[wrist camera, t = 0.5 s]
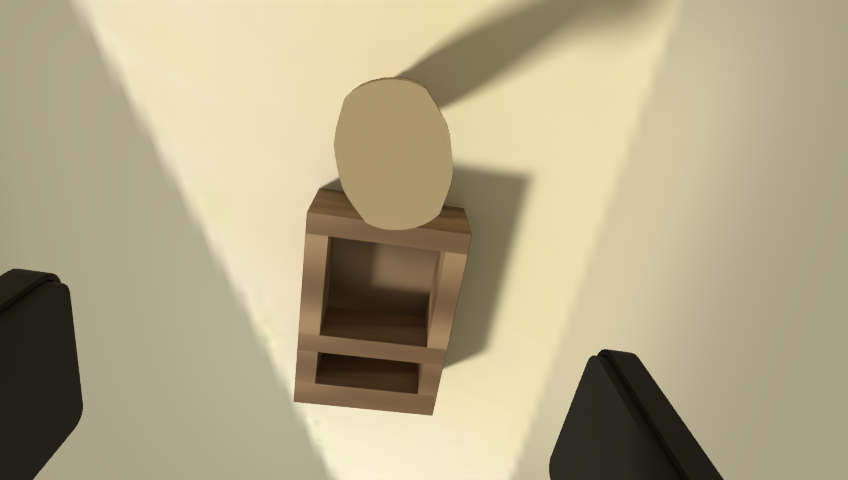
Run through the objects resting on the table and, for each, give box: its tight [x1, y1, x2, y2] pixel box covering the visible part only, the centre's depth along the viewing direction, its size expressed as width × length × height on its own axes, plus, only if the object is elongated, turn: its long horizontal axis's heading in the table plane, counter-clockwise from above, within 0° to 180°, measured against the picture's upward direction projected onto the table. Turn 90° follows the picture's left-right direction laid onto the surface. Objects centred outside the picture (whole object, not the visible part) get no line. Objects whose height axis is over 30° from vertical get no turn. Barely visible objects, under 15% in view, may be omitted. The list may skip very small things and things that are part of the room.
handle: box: [334, 77, 453, 230], centre depth 27 cm, size 5×6×15 cm
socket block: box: [294, 188, 472, 415], centre depth 38 cm, size 16×11×5 cm
